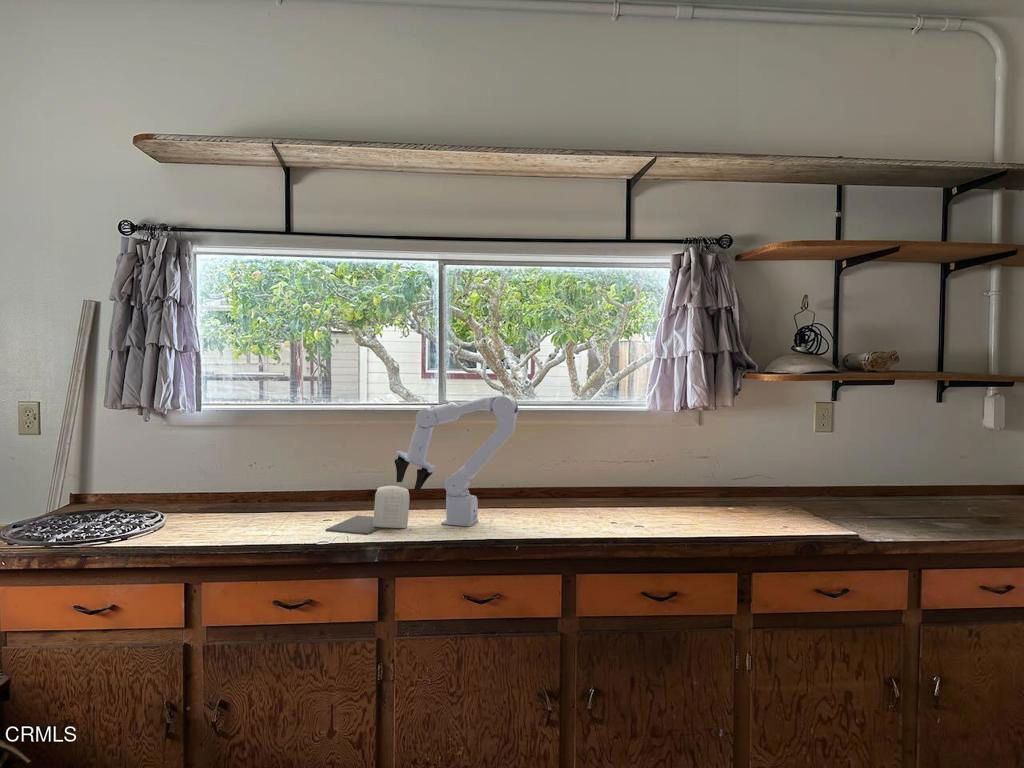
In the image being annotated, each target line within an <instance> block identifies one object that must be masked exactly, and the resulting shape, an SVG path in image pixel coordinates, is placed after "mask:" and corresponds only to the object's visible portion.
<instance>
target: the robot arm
mask: <svg viewBox="0 0 1024 768" xmlns="http://www.w3.org/2000/svg"><path fill="white" fill-rule="evenodd" d="M481 410H484V411H486V412H489V413H491V412H493V414H494V415H495V418H496V424H497V426H496V427H497V428H496V429H495V430H494V431H493V432H492V433H491V435H490V436H489V437H488V438H487V439H486V440H484V442H483V443H482V445H481V446H480V447H479V448H478V449H477V450H476V451H475V452H474V454H472V455H471V457H470V458H469V459H468V460H467V461H466V462H465V463H464V464H463V465H462V466H461V467H460V468H459V469H458V470H457V471H455V472H454V473H453V474H451V475H449V476H448V477H446V478H445V481H444V484H443V486H444V490H445V491H446V493H445V494H446V495H445V496H446V497H445V502H446V504H445V508H446V511H445V518H446V519H445V520H444V521H441V525H450V526H463V527H471V526H473V525H474V524H476V523H477V522H478V521H479V519H478V518H479V517H478V513H479V512H478V510H479V509H478V504H479V503H478V501H479V500H478V497H477V495H473V494H471V493H470V491H469V487H470V485H471V483H472V480H473V478H474V477H475V476H476V475H477V473H478V472H479V471H480V470H481V469H482V468H483V467H484V466H485V464H487V463H488V461H490V459H491V458H492V457H493V456H494V455H495V454H496V453H497V451H498V450H499V449H500V448H501V447H502V446H503V445H504V444H505V443H506V442H507V440H508V439H509V438H511V437H512V435H513V434H514V433H515V430H516V424H517V418H518V413H519V406H518V401H517V399H516V398H515V397H514V396H513V395H511V394H504V395H492V396H485V397H482V398H479V399H478V398H477V399H474V400H471V401H468V402H463V403H460V404H458V403H456V402H454V401H450V400H447V401H444V403H443V404H439V405H435V404H434V405H430V408H429V407H428V408H423V409H420V410H419V411H418V412H417V413H416V414H415V422H416V423H415V427H414V430H413V433H412V436H411V440H410V444H409V447H408V450H407V452H404V451H402V450H397V451H396V453H395V458H396V459H394V465H395V469H396V471H395V472H396V480H395V481H396V483H403V481H404V478H405V475H406V471H407V469H408V467H409V465H410V464H412V465H415V466H417V467H419V468H418V469H416V480H415V481H416V482H415V484H414V491H415V492H420V491H421V489H422V487H423V486H424V484H425V482H426V481H427V480H428V479H429V477H431V475H432V474H433V473H434V472H435V468H436V466H435V465H433V464H431V463H430V462H429V461H427V460H426V458H427V457H426V456H427V453H428V450H429V447H430V446H429V445H430V443H431V440H432V435H433V430H434V428H435V426H436V425H441V424H444V423H449V422H453V421H457V420H458V419H459V418H460V416H461V415H465V414H469V413H473V412H478V411H481Z"/></svg>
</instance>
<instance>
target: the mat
mask: <svg viewBox="0 0 1024 768" xmlns="http://www.w3.org/2000/svg"><path fill="white" fill-rule="evenodd" d="M373 520H374V516H370V515H359V514H357V515H355V516H352V517H351V518H347V519H346V520H343V521H342V522H341V521H340V522H339V523H336V524H334V525H332V526H329V527H327V528H325V531H326V532H335V533H336V532H337V533H343V532H345V533H347V534H354V533H355V534H357V535H366V536H367V535H371V534H372V533H374V532H377V531H378V530H380V529H382V528H383V527H374V526H373Z"/></svg>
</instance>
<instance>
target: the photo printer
mask: <svg viewBox="0 0 1024 768" xmlns="http://www.w3.org/2000/svg"><path fill="white" fill-rule="evenodd" d="M410 500H411V499H410V493H409V489H408V488H405V487H402V486H398V485H386V486H385V485H384V486H380V487H377V489H376V492H375V494H374V509H373V517H374V520H373V526H374V527H382V528H394V529H407V528H408V523H409V511H410V510H409V509H410Z"/></svg>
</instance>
